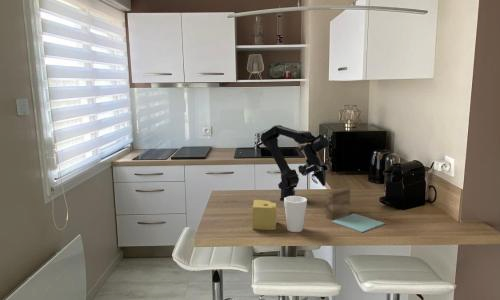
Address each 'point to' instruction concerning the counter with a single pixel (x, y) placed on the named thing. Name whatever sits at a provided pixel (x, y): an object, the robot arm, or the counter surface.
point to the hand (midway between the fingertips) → (324, 185)
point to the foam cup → (295, 212)
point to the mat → (358, 222)
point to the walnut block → (338, 203)
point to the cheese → (264, 215)
